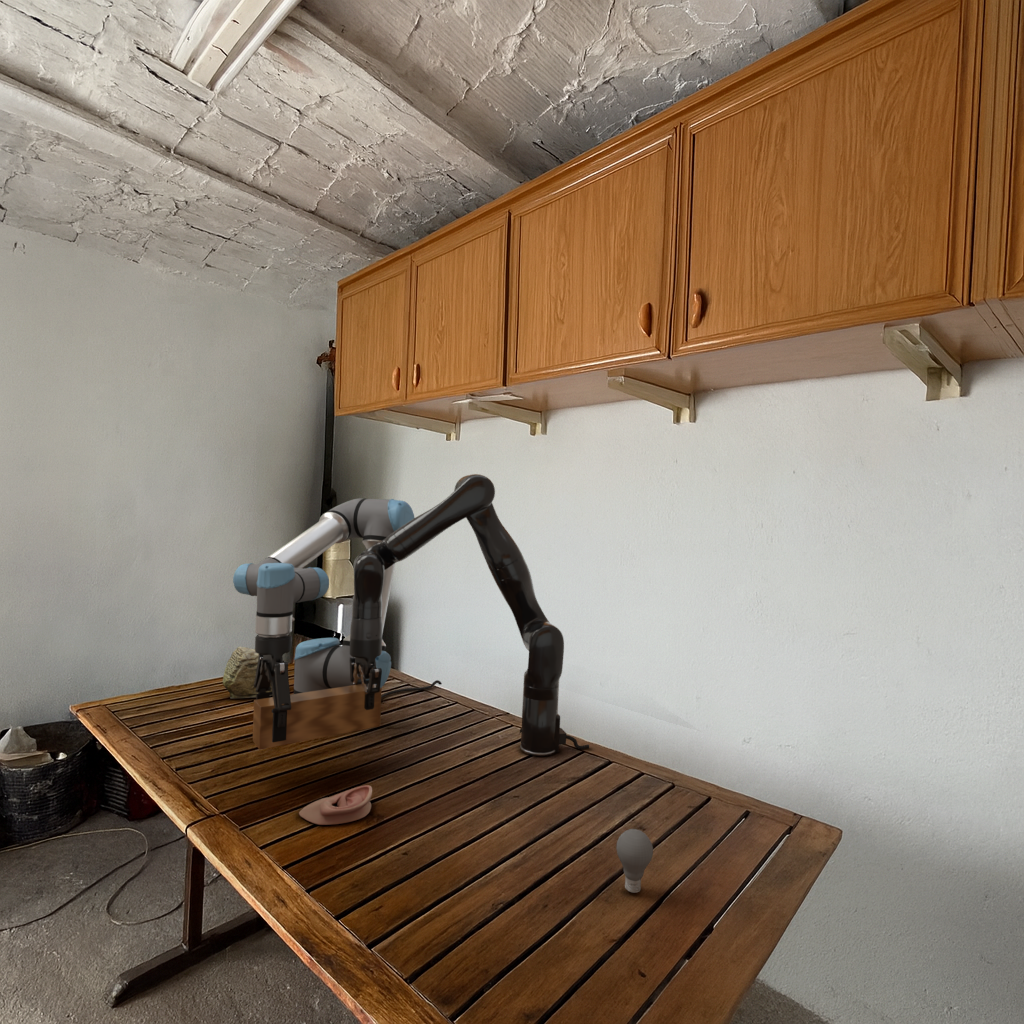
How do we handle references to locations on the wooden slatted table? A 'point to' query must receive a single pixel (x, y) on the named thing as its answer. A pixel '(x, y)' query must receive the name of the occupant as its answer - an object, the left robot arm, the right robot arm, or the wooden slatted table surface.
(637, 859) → the light bulb
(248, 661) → the fossil
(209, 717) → the wooden slatted table surface
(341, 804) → the anatomical model
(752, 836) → the wooden slatted table surface
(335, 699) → the bar
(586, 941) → the wooden slatted table surface
